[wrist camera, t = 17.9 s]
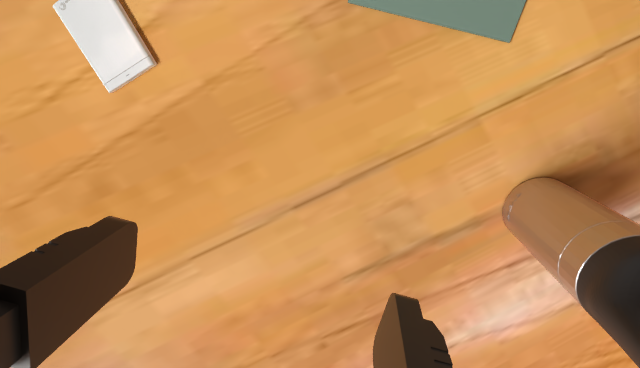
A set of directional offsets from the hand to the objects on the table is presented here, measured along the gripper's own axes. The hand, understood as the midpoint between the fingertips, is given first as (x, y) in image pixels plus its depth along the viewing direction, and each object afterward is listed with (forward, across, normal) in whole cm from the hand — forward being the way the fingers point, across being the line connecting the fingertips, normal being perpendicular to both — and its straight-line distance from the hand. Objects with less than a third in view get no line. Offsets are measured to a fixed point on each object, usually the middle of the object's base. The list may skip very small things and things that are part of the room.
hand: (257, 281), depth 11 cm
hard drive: (+39, +32, -3) cm, 51 cm away
